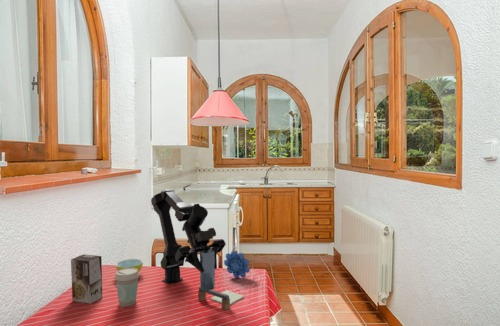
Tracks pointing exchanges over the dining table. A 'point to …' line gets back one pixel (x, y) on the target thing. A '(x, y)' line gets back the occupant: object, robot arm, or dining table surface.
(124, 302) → the coffee cup
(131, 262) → the bowl
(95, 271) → the coffee box
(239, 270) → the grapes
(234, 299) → the mat
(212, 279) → the canister
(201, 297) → the posts
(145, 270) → the dining table surface
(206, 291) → the bar
